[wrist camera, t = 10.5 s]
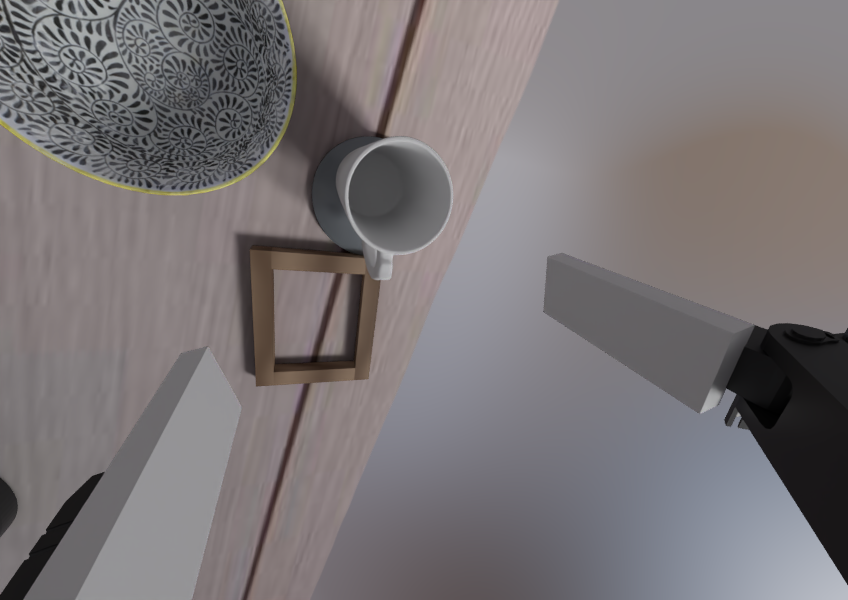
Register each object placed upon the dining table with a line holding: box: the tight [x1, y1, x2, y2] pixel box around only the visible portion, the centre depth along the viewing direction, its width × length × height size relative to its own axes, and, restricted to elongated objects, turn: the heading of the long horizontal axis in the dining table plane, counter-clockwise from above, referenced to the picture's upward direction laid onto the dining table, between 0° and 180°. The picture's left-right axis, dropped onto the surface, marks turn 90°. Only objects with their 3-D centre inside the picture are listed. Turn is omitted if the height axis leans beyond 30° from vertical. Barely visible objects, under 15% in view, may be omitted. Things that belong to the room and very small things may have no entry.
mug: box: [336, 136, 453, 280], centre depth 24 cm, size 10×7×12 cm, turn 167°
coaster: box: [312, 137, 382, 256], centre depth 29 cm, size 11×11×1 cm
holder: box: [250, 245, 381, 386], centre depth 32 cm, size 12×15×2 cm
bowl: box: [0, 0, 297, 195], centre depth 19 cm, size 16×16×8 cm
